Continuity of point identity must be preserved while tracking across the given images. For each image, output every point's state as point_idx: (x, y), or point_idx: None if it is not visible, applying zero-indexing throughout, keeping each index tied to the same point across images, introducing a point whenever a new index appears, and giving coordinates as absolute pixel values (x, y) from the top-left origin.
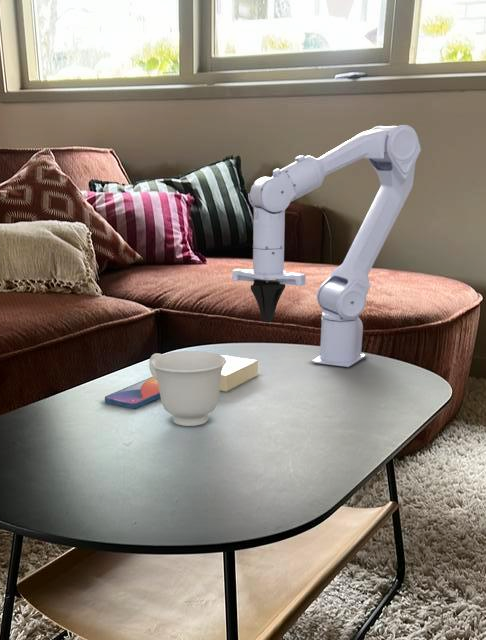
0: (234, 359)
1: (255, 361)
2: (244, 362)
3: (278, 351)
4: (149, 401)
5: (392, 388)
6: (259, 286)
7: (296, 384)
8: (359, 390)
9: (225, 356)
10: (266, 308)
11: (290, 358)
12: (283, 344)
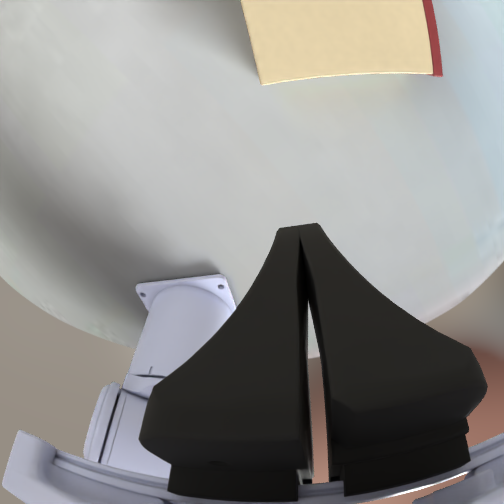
0: (343, 41)
1: (256, 66)
2: (280, 28)
3: None
4: None
5: (5, 223)
6: (368, 424)
7: (110, 95)
8: (13, 173)
9: (398, 61)
10: (280, 271)
11: None
12: None
